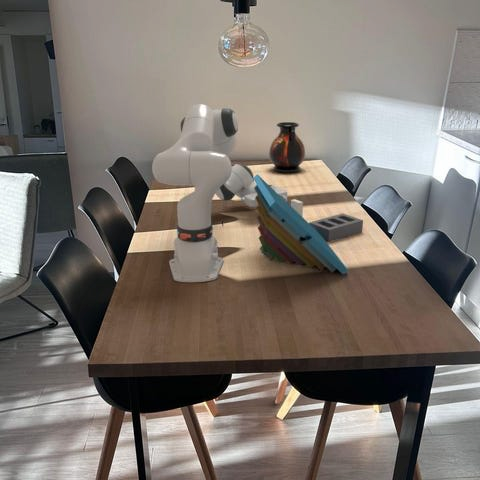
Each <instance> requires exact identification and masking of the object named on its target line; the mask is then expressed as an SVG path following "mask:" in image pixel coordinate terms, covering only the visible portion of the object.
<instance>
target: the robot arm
mask: <svg viewBox="0 0 480 480" xmlns="http://www.w3.org/2000/svg"><path fill="white" fill-rule="evenodd" d="M238 130H239V119H238V116H237V115H236V112H235V111H234V110H232V109H231V108H222V109H212V108H211V107H210V106H209V105H206V104H204V103H196V104H194V105H192V106H191V107H190V108H189V109H188V111H187V113H186V116H185V117H183V118H182V120H181V122H180V132H181V133H180V136H179V138H178V140H177V141H176V142H175V144H173V145H172V146H170V148H168V149H166V150H164V151H162V152H160V153H158V154H157V155H156V156H155V157H154V159H153V161H152V164H151V165H152V166H151V171H152V174H153V177H154V178H155V180H156V181H157V182H158V183H160V184H165V185H170V186H192V187H193V188H194V191H192V192H191V193H189V194H186V195H184V196H183V197H181V198H180V199H179V201H178V202H177V205H176V206H177V207H176V209H177V226H176V233H177V238H175V239H174V240H173V245H174V254H173V256H172V259H170V260H169V261H168V262H169V263H168V264H169V267H170V268H169V269H170V271H171V275H172V278H173V280H174V281H176V282H180V283H201V282H202V283H203V282H209V281H210V282H211V281H214V280H216V279H217V278H218V276H219V274H220V271H221V270H222V267H223V264H224V263H225V261H224V258H222V257H219V253H218V251H219V246H218V239H217V238H216V237H214V235H213V234H214V233H213V230H214V228H213V223H212V217H211V216H212V215H211V214H212V203H213V199H214V198H215V197H214V196H215V195H216V196H217V198H219V199H220V200H221V201H232V199H233V198H235V196H236V197H238V198H239V199H240V201H242V202H244V204H245V205H246V206H248V207H251V208H256V207H257V206H258V203H257V201H256V199H255V197H256V196H257V195H258V194H257V193H256V191H255V189H254V187H255V186H256V185H257V184H256V182H255V181H254V179H253V178H254V177H255V176H254V172H253V171H252V170H251V168H250V167H248V166H247V165H245V164H243V163H235V164H234V165H233V166H232V162H231V159H230V156H231V155H232V153H233V152H234V150H235V148H236V146H237V145H236V144H237V137H236V134H237V132H238ZM268 185H269V186H270V187H271V188H272V189H273V190H274V191H275V192H277V193H278V194H279V195H280V196H281V197H282V198H283V199H284V200H285V201H286V202H288V191H287V190H286V189H283V188H280V187H278V186H275V184H268Z"/></svg>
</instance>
